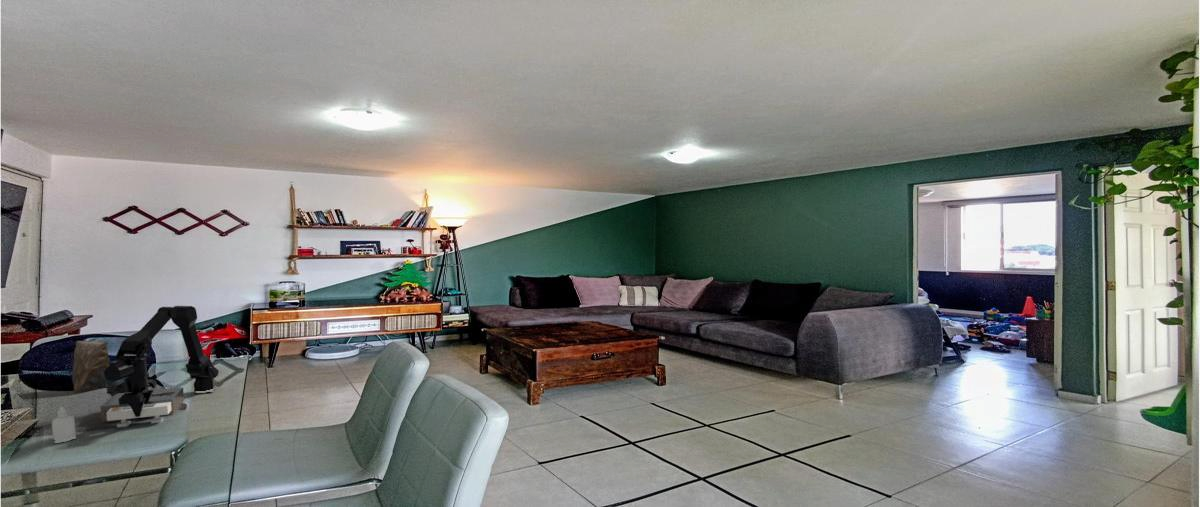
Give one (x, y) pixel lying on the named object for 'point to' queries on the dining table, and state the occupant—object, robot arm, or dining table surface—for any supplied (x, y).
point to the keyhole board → (155, 398)
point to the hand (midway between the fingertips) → (140, 414)
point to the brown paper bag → (90, 366)
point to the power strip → (140, 414)
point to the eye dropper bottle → (63, 426)
